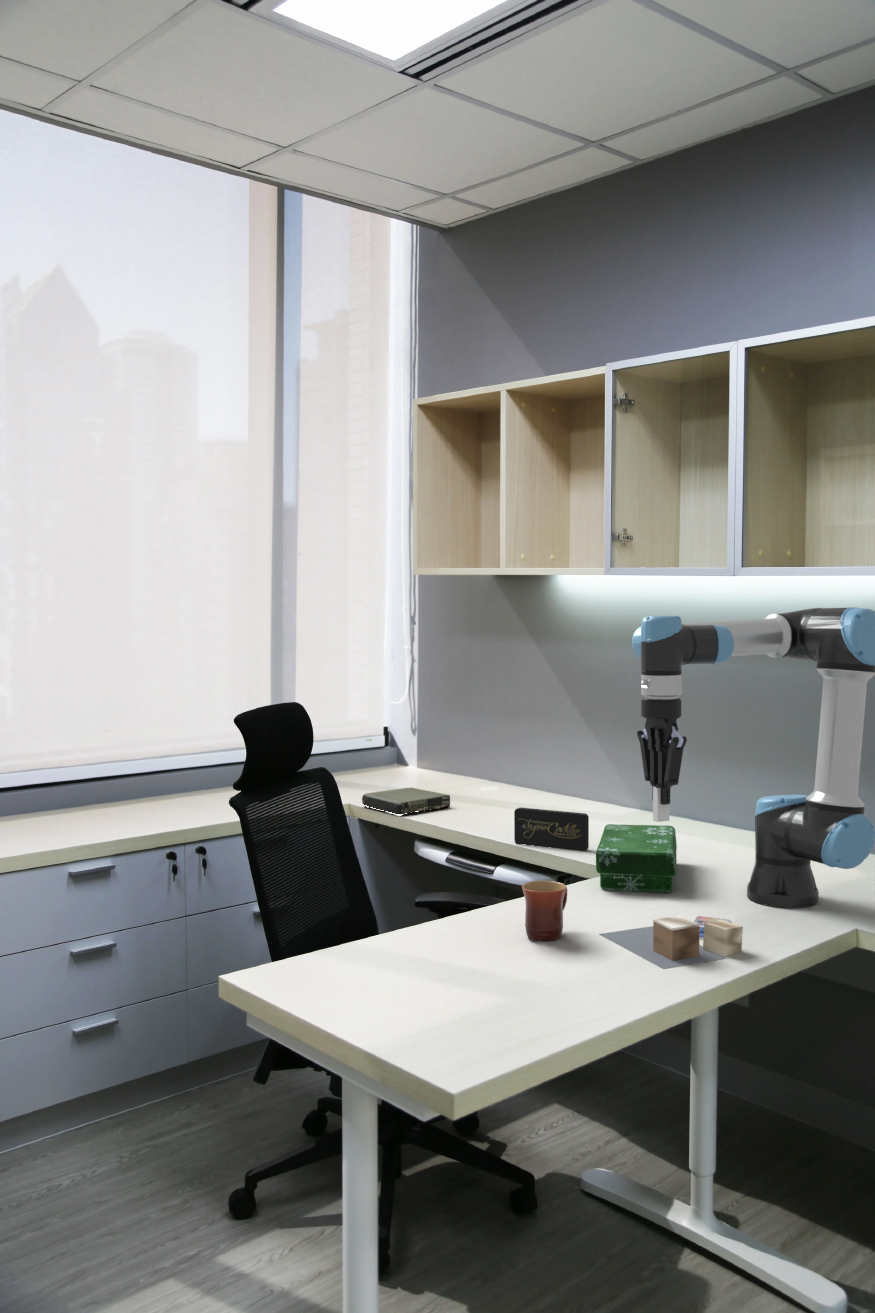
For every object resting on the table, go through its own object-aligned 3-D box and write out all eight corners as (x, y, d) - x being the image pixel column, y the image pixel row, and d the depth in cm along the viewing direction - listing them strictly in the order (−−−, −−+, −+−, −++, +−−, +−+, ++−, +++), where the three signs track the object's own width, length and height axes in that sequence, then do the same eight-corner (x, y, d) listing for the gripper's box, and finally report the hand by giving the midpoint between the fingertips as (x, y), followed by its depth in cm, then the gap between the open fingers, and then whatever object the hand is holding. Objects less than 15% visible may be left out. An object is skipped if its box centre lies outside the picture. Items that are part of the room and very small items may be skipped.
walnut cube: (699, 924, 194) (699, 956, 194) (680, 915, 199) (679, 946, 200) (672, 928, 192) (672, 960, 192) (653, 919, 197) (653, 951, 197)
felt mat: (658, 927, 213) (657, 925, 213) (727, 960, 193) (727, 958, 193) (598, 935, 208) (598, 934, 208) (663, 970, 188) (663, 969, 188)
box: (676, 896, 237) (676, 852, 236) (594, 892, 241) (594, 849, 240) (677, 863, 267) (677, 824, 267) (604, 860, 271) (604, 821, 271)
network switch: (405, 819, 326) (405, 803, 326) (354, 810, 342) (354, 794, 342) (455, 808, 344) (455, 793, 343) (404, 800, 359) (404, 785, 359)
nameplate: (514, 844, 290) (514, 808, 289) (517, 842, 291) (517, 807, 291) (586, 852, 280) (586, 814, 279) (588, 850, 281) (588, 813, 281)
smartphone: (732, 919, 216) (722, 941, 202) (732, 924, 216) (722, 946, 203) (695, 915, 219) (684, 936, 205) (695, 920, 219) (684, 941, 205)
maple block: (719, 945, 201) (721, 919, 201) (741, 952, 197) (742, 926, 197) (702, 949, 198) (704, 923, 198) (724, 956, 194) (726, 929, 194)
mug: (550, 947, 201) (550, 894, 200) (513, 939, 206) (513, 887, 206) (583, 932, 210) (583, 881, 210) (547, 924, 216) (546, 875, 215)
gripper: (625, 695, 203) (625, 816, 204) (664, 700, 191) (665, 829, 192) (657, 693, 206) (657, 812, 207) (698, 698, 194) (698, 825, 195)
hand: (661, 820), depth 200 cm, fingers closed
